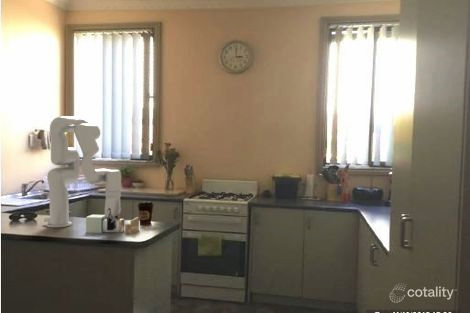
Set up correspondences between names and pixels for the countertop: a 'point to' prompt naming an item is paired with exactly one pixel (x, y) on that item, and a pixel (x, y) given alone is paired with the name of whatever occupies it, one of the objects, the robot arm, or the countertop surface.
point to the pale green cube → (94, 223)
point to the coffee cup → (145, 212)
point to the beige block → (132, 226)
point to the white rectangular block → (117, 225)
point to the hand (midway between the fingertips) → (113, 228)
